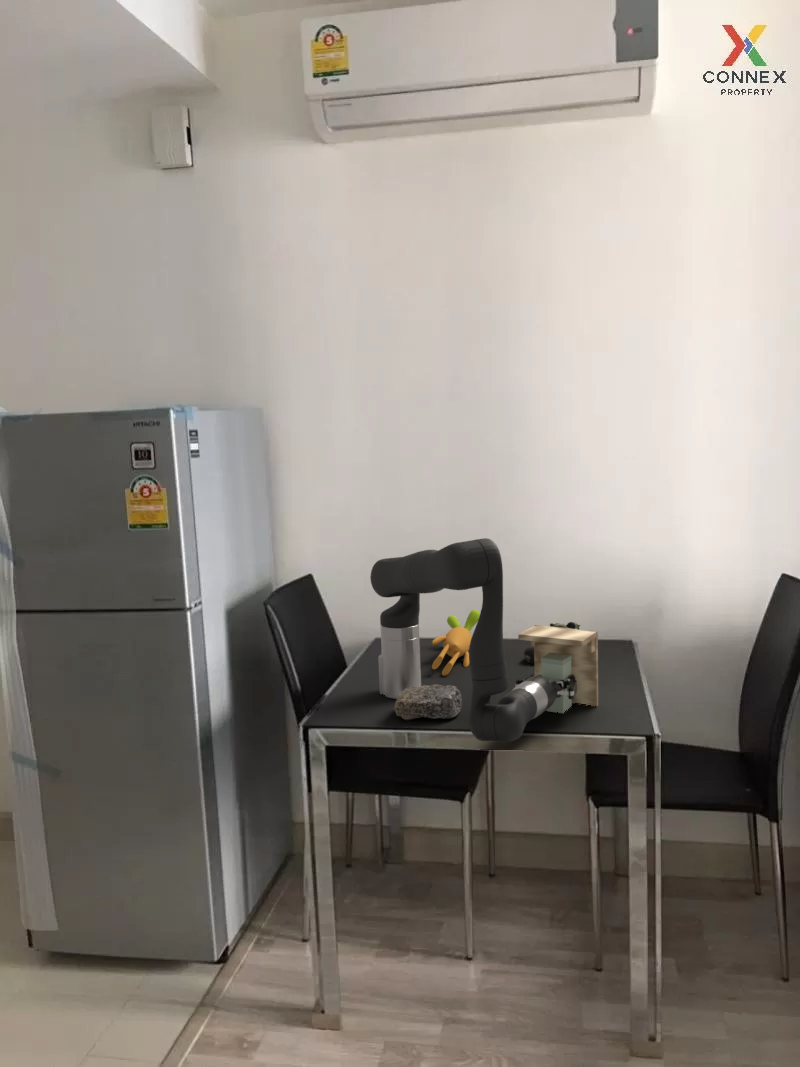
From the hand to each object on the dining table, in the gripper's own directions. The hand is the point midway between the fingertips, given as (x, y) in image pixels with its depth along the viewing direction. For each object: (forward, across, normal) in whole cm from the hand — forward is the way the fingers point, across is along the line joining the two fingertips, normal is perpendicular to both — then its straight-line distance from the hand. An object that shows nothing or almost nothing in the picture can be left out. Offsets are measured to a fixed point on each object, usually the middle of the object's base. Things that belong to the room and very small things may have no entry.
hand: (560, 677), depth 205 cm
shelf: (-1, 0, +6) cm, 7 cm away
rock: (-18, +24, +7) cm, 31 cm away
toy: (+24, +41, +7) cm, 48 cm away
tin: (-3, 0, +6) cm, 7 cm away
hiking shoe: (+38, +17, +7) cm, 42 cm away
